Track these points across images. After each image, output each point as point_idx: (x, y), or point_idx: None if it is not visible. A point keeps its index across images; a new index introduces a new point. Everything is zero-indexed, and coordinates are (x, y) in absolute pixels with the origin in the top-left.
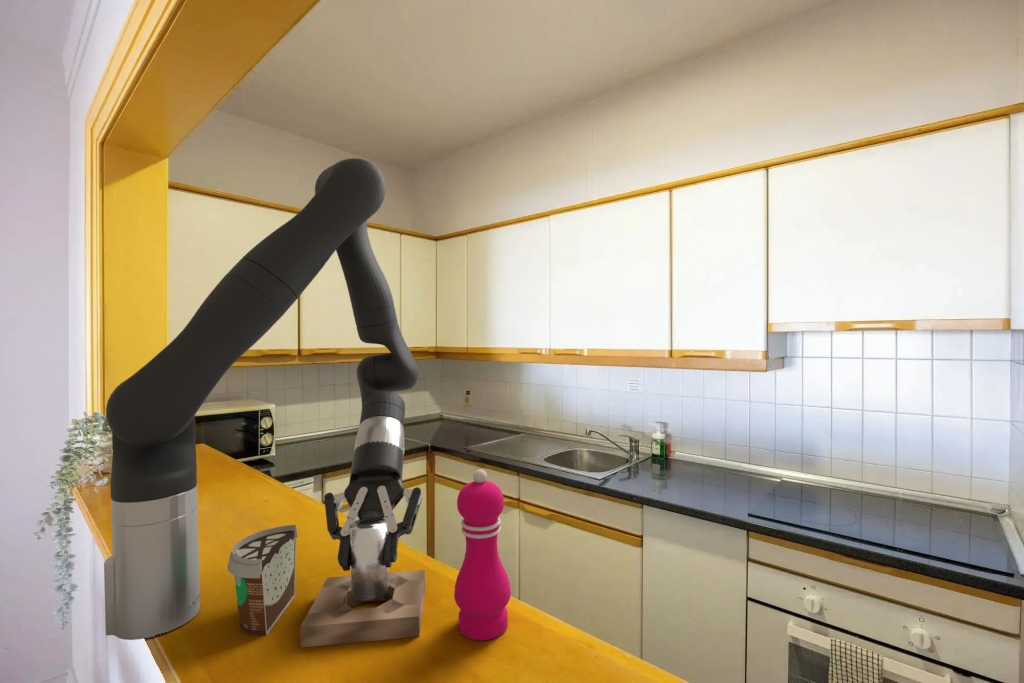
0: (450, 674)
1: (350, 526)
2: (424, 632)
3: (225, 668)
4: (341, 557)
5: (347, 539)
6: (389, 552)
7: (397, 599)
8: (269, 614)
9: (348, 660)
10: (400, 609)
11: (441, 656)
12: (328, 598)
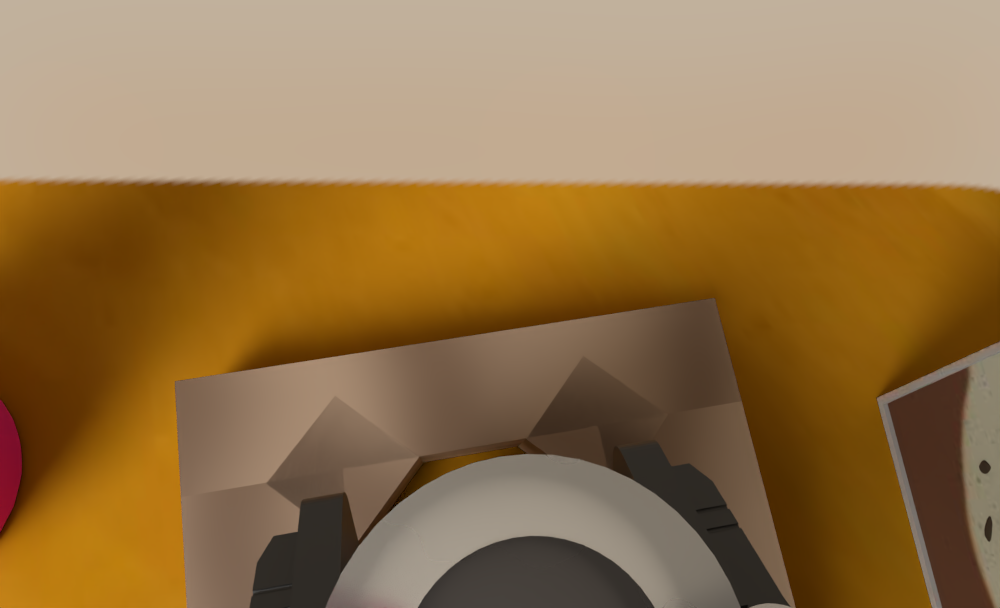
0: (60, 180)
1: (727, 605)
2: None
3: (887, 211)
4: (688, 493)
5: None
6: (301, 543)
7: None
8: (933, 431)
9: (464, 251)
10: (282, 442)
11: (99, 273)
12: None
